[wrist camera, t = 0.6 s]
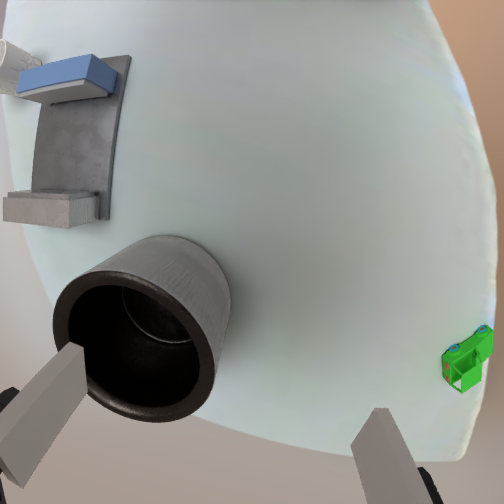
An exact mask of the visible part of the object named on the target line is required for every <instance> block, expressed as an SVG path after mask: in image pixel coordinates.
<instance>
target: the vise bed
mask: <svg viewBox="0 0 504 504" xmlns="http://www.w3.org/2000/svg"><path fill="white" fill-rule="evenodd" d="M100 60H102V61H103V62H104V63H106V64H107V65H109V66H110V67H111V68H113V69H114V70H116V71H117V76H116V81H115V86H114V90H113V93H108V95H107V96H106V97H96V98H87V99H79V100H71V101H64V102H58V103H52V104H46V105H45V104H42V105H41V110H40V115H39V121H38V127H37V134H36V141H35V150H34V159H33V171H32V187H31V190H34V189H43V190H73V191H95V196H100V205H99V220H108V219H109V213H110V195H111V181H112V170H113V160H114V151H115V143H116V135H117V128H118V121H119V115H120V109H121V104H122V98H123V93H124V88H125V83H126V78H127V74H128V69H129V65H130V61H131V57H130V56H129V55H124V56H116V57H109V58H102V59H100Z"/></svg>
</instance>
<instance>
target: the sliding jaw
mask: <svg viewBox="0 0 504 504" xmlns="http://www.w3.org/2000/svg"><path fill="white" fill-rule="evenodd" d="M116 76H117V71H116V70H114V69H113V68H111V67H110V66H109V65H107V64H106V63H104V62H103V61H102V60H100V59H99V58H97V57H96V56H94V55H93V54H88V55H83V56H78V57H73V58H69V59H65V60H60V61H56V62H52V63H49V64H45V65H41V66H38V67H35V68H31V69H28V70H25V71H22V72H21V74H20V78H19V82H18V86H17V90H16V93H18V94H20V98H24V99H27V100H31V101H35V102H38V103H42V104H45V105H46V104H52V103H58V102H64V101H71V100H79V99H87V98H96V97H106V96H107V95H108V93H113V90H114V86H115V81H116Z"/></svg>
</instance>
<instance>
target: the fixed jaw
mask: <svg viewBox="0 0 504 504" xmlns="http://www.w3.org/2000/svg"><path fill="white" fill-rule="evenodd" d="M99 205H100V196H95V191H73V190H43V189H34V190H24V191H15V192H8V197H3V221H8V222H16V223H25V224H34V225H43V226H51V227H60V228H72V227H75V226H79V225H82V224H86V223H89V222H93V221H96V220H99Z"/></svg>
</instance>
